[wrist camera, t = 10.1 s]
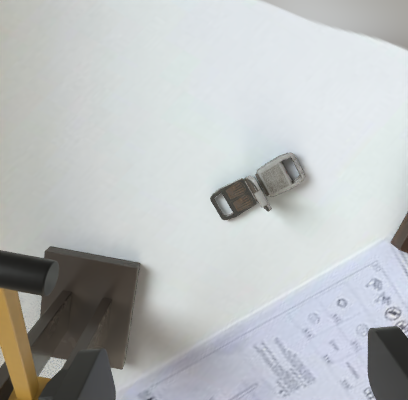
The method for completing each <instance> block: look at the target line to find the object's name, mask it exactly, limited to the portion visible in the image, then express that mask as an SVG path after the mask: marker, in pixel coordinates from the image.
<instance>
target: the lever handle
mask: <svg viewBox="0 0 408 400" xmlns="http://www.w3.org/2000/svg"><path fill="white" fill-rule="evenodd" d="M58 274H59V264H58V262H57V261H55V260H50V259H44V258H39V257H34V256H28V255H23V254H17V253H12V252H7V251H1V250H0V346H1V349H2V353H3V356H4V359H5V362H6V365H7V368H8V371H9V375H10V378H11V381H12V384H13V387H14V389H13V391H12V393H11V395H10V397H9V399H8V400H38V397H39V396H40V394H41V392H42V391H43V389H44V387H45V386H46V384H47V382H49V381H50V380H51V379H49V378H43V377H38V376H37V375H36V370H35V366H34V362H33V357H32V353H31V349H30V344H29V340H28V335H27V331H26V327H25V322H24V318H23V314H22V309H21V305H20V300H19V296H18V292H17V291H20V292H25V293H31V294H36V295H41V296H48V295H49V294H50V293H51V292H52V290H53V289H54V287H55V284H56V282H57V278H58Z"/></svg>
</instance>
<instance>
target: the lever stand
mask: <svg viewBox="0 0 408 400" xmlns="http://www.w3.org/2000/svg"><path fill="white" fill-rule="evenodd" d="M44 259H50V260H55V261H57V262H58V264H59V274H58V278H57V282H56V284H55V287H54V289H53V290H52V292H51V293H50V294H49V295H48V296H42V301H41V315H40V319H39V320H38V321H37V322H36V324H35V325H34V326H33V327H32V329H31V330H30V331H29V332H28V334H27V335H28V340H29V344H30V349H31V353H32V357H33V362H34V366H35V370H36V375H37V376H39V374H40V373H41V371H42V370H43V368H44V366H45V365H46V363H47V362H48V360H49V359H50V357H55V358H61V359H66V360H67V361H66V363H65V364H64V366H63V368H62V369H69V367H70V365H71V363H72V362H73V360H74V358H75V356H76V354H77V353H78V351H80V350H86V349H99V348H104V349H106V351H107V354H108V359H109V363H110V367H111V368H116V369H123V366H124V363H125V359H126V352H127V346H128V339H129V333H130V326H131V320H132V313H133V306H134V300H135V293H136V287H137V280H138V274H139V267H140V263H137V262H131V261H126V260H121V259H115V258H110V257H104V256H99V255H94V254H88V253H83V252H78V251H72V250H67V249H61V248H56V247H49V248H48V249H47V250H46V251H45V257H44ZM13 389H14V387H13V384H12V381H11V378H10V375H9V371H8V368H7V365H6V362H4V364H3V365H2V366H1V367H0V400H8V399H9V397H10V395H11V393H12V391H13Z"/></svg>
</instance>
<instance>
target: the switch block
mask: <svg viewBox="0 0 408 400" xmlns="http://www.w3.org/2000/svg"><path fill="white" fill-rule="evenodd" d="M391 243H392V244H393V245H394V246H395V247H396V248H398V249H399V250H401V251H404V252H406V253H408V213H407V215H406V217H405V218H404V220H403V222H402V224H401V225H400V227H399V229H398V231H397V232H396V234H395V236H394V238H393V239H392V241H391Z"/></svg>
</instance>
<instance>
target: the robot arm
mask: <svg viewBox="0 0 408 400" xmlns="http://www.w3.org/2000/svg"><path fill="white" fill-rule="evenodd" d="M368 378H369V382H370V386H371V389H372V392H373V394H374V396H375V398H376V400H408V338H407V337H406V335H405V334H404V333H403V332H402V330H401V329H400V328H399V327H397V326H393V327H380V328H370V329H369V332H368ZM115 399H116V392H115V385H114V381H113V376H112V372H111V367H110V363H109V359H108V354H107V351H106V349H104V348H99V349H86V350H80V351H78V353H77V354H76V356H75V358H74V360H73V362H72V363H71V365H70V367H69V369H61V370H60V371H59V372H58V373H57V374H56V375H55V376H54V377H53V378H52V379H51V380H50V381H49V382H47V384H46V386H45V387H44V389H43V391H42V392H41V394H40V396H39V397H38V400H115Z"/></svg>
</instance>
